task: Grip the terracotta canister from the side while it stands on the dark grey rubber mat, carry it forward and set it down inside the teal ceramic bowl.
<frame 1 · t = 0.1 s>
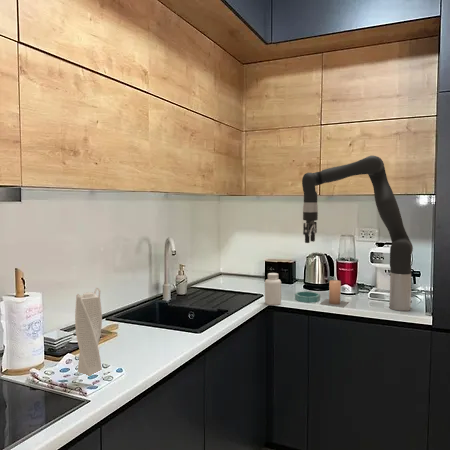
hand: (309, 242, 227), 29 cm above the countertop, tool pointing down, fingers open, 8 cm apart
bowl: (307, 300, 222), on the countertop
skyscraper: (90, 381, 128), on the countertop
pill bottle: (272, 303, 216), on the countertop
mat: (334, 304, 215), on the countertop
canister: (334, 303, 215), point 1 cm above the countertop, touching mat
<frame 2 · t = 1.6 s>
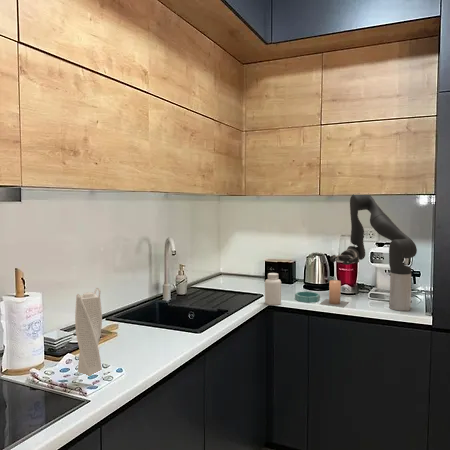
hand: (341, 261, 223), 20 cm above the countertop, tool horizontal, fingers open, 8 cm apart
nothing on the countertop moved.
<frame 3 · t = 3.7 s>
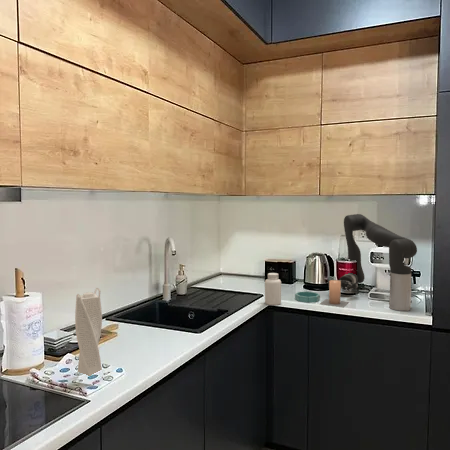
hand: (339, 287, 221), 7 cm above the countertop, tool horizontal, fingers open, 8 cm apart
nothing on the countertop moved.
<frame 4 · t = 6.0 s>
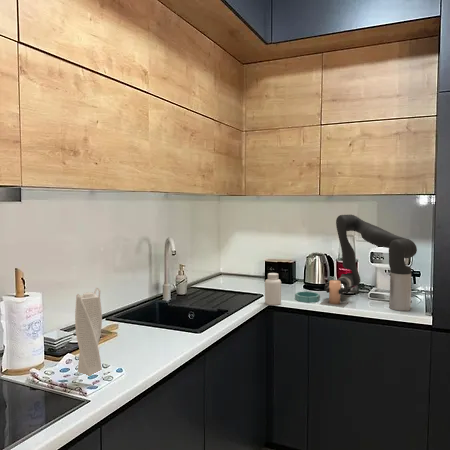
hand: (333, 291, 212), 7 cm above the countertop, tool horizontal, fingers closed on canister, 5 cm apart
canister: (334, 303, 215), point 1 cm above the countertop, touching gripper, mat
everything else where it was.
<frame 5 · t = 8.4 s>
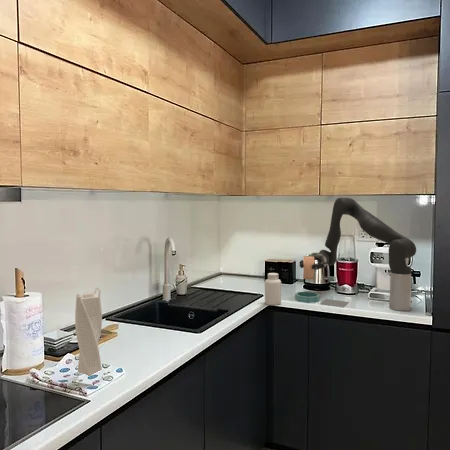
hand: (307, 266, 219), 18 cm above the countertop, tool horizontal, fingers closed on canister, 5 cm apart
canister: (308, 278, 221), point 12 cm above the countertop, touching gripper
everything else where it was.
when the fingers open (9 cm above the countertop, at t = 10.7 s): canister drops 1 cm, resting on bowl.
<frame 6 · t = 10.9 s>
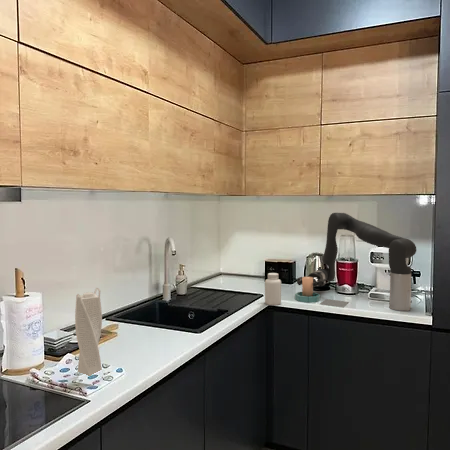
hand: (306, 284, 219), 9 cm above the countertop, tool horizontal, fingers open, 7 cm apart
canister: (307, 298, 222), point 1 cm above the countertop, touching bowl
everything else where it was.
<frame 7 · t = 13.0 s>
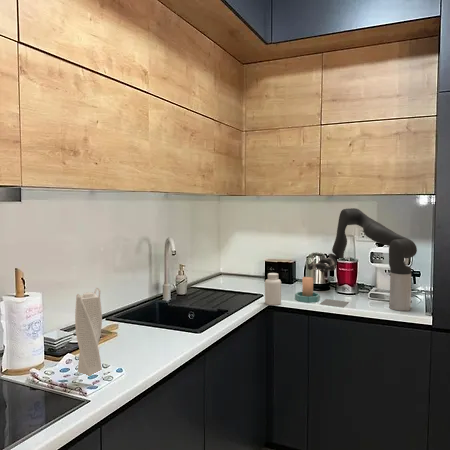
hand: (317, 268, 230), 15 cm above the countertop, tool horizontal, fingers open, 8 cm apart
nothing on the countertop moved.
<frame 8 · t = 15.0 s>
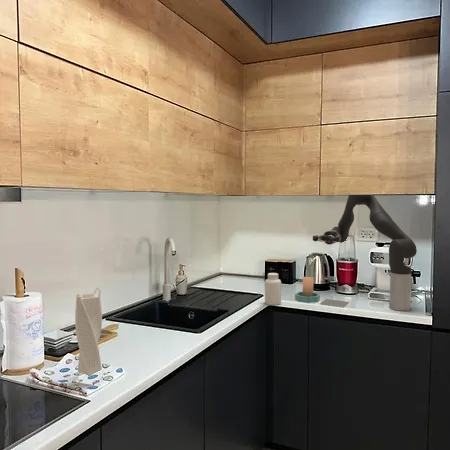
hand: (322, 239, 230), 30 cm above the countertop, tool horizontal, fingers open, 8 cm apart
nothing on the countertop moved.
at the end: canister 0.1 cm from the bowl (horizontally); canister tilted 1°; canister point 0.8 cm above the countertop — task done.
